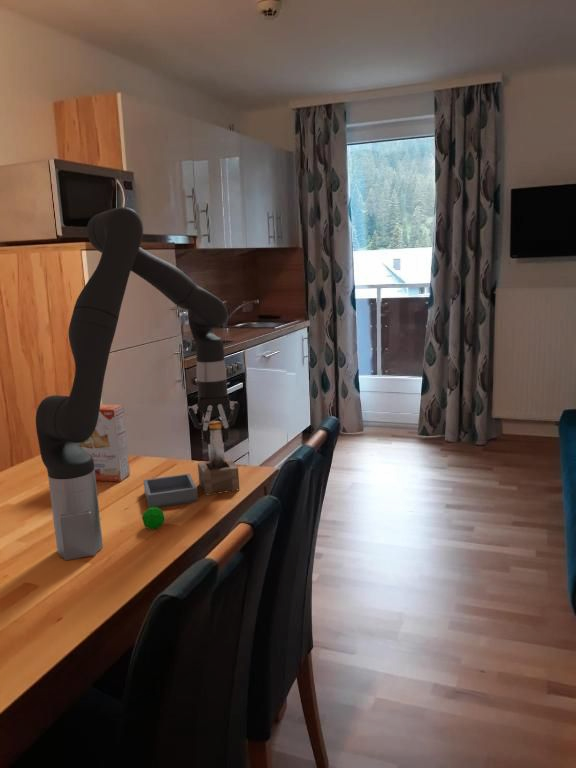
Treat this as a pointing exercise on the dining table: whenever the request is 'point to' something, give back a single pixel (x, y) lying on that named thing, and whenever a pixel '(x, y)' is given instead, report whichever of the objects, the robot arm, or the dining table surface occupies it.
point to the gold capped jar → (216, 445)
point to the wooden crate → (218, 477)
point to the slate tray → (170, 490)
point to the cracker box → (109, 445)
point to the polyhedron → (153, 518)
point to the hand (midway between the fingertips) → (215, 442)
